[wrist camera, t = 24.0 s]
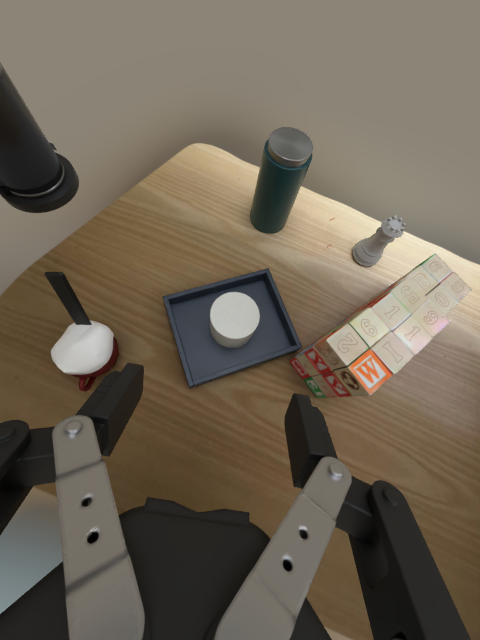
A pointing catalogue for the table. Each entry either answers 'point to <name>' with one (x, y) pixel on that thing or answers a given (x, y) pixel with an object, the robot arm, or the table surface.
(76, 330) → the cocoa
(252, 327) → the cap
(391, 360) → the stack of blocks
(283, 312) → the tray
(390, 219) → the rook chess piece
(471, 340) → the table surface
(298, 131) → the green metal cylinder
